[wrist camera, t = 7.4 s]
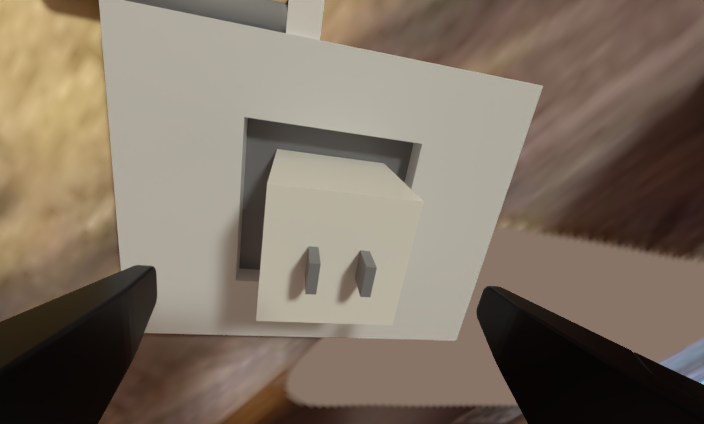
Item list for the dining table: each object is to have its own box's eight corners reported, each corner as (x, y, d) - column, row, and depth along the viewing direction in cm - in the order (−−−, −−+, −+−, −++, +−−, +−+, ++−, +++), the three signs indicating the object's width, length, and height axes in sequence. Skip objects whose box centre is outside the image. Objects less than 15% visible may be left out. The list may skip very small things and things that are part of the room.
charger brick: (383, 163, 15) (436, 213, 9) (365, 255, 16) (400, 346, 11) (277, 149, 14) (263, 195, 8) (268, 248, 15) (251, 343, 10)
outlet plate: (524, 85, 15) (543, 85, 14) (447, 325, 19) (456, 340, 18) (117, 3, 11) (98, -6, 10) (138, 314, 16) (126, 332, 15)
